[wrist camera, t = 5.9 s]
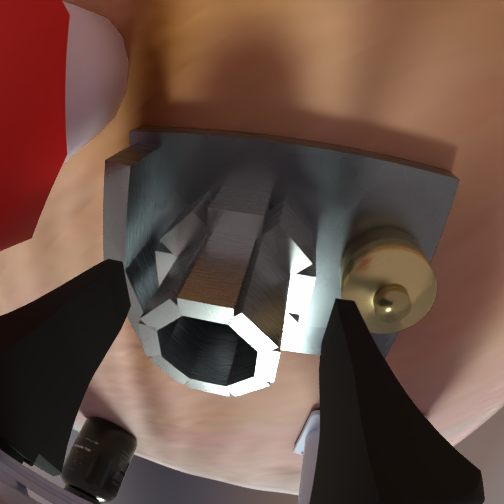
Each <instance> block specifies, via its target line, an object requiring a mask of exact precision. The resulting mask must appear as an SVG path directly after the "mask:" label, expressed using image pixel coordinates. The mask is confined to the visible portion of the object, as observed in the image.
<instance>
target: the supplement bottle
mask: <svg viewBox="0 0 504 504" xmlns="http://www.w3.org/2000/svg"><path fill="white" fill-rule="evenodd" d="M136 447H137V443H136V441H135V439H134V438H133V437H132V436H131V435H130V434H129V433H128V432H126V431H125V430H123V429H122V428H120V427H118V426H116V425H115V424H113V423H111V422H108V421H106V420H104V419H101V418H97V417H90V418H88V419H87V420H86V421H85V423H84V425H83V427H82V429H81V431H80V433H79V435H78V436H77V438H76V440H75V442H74V444H73V446H72V448H71V450H70V453H69V454H68V456H67V458H66V460H65V462H64V464H63V469H62V474H60V475H61V478H62V480H63V482H64V483H65V488H64V489H65V490H67V491H69V492H71V493H72V494H74V495H76V496H78V497H80V498H82V499H85V500H87V501H89V502H91V503H93V504H107V503H111V502H113V501H114V500H115V498H116V496H117V493H118V491H119V488H120V486H121V483H122V481H123V479H124V476H125V474H126V471H127V469H128V467H129V464H130V462H131V459H132V457H133V455H134V452H135V450H136Z"/></svg>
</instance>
